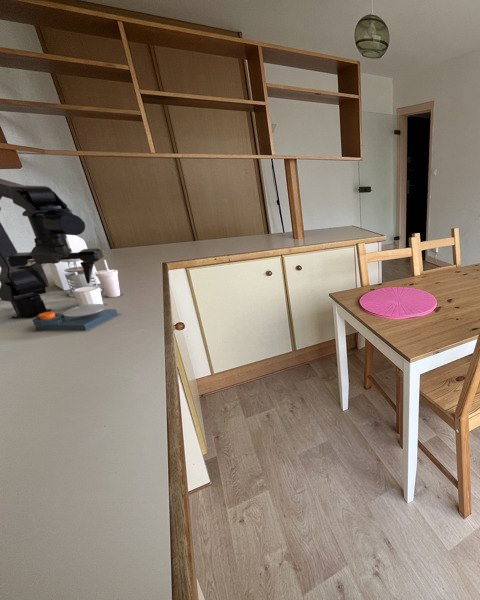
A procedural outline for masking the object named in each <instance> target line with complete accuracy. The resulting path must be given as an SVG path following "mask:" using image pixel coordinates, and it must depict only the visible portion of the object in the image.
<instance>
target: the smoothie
mask: <svg viewBox="0 0 480 600" xmlns="http://www.w3.org/2000/svg"><path fill="white" fill-rule="evenodd" d="M103 264H104V266H105V269H103V270H98V271H97V272H96V273H95V274H96V276H97V277H98V279H99V281H100V285H101V287H102V289H103V290H104V293H105V294H106V296H107V298H116V297H120V296H121V290H120V284H119V277H118V276H119V275H118V274H119V272H118V271H119V270H118V269H109V266H108V263H107V260H106V259H103Z"/></svg>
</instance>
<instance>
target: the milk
mask: <svg viewBox="0 0 480 600" xmlns="http://www.w3.org/2000/svg"><path fill="white" fill-rule="evenodd" d="M64 235H65V234H64ZM66 236H67V240H68V242H69V245H70V248H71V250H72V253H78V252H80V251H82V250H84V249H89V248H88V246H87V244H86V241H85V240H84V238H82V237H80V236H78V235H66ZM67 240H66V241H67ZM68 242H67V243H68ZM69 245H68V246H69ZM81 262H83V261H76V265H77V267H82V265H81V264H80V263H81ZM70 263H71V264H69V266H68V262H61V261H60V262H59V263H55V264H52V263H47V265H48V266H49V269H50V273H51V275H52V279H53V281H54V284H55V286H57V287H58V288H60V289H62V290H63V291H69V290H70V288H69V285H68V282H67V280H66V277H65V274H66V273H68V272H65V271H64V270H65V269H68V268H69V267H70V268H73V267H76V265H75V266H74V264H73V263H74V262H70ZM92 271H93V274H94V276H95V277H94V278H95V279H96V280H95V281H96V282H97V283H96V284H97V285H101V283H100V281H99V279H98V277H97V276H96V274H95V273H96V272H98V271H97V268H96V265H95V264H94V266H93V269H92ZM75 275H78V274H77V272H75ZM91 280H92V279H91ZM68 281H70V280H68ZM92 283H94V282H92ZM69 284H70V283H69ZM70 285H71V284H70ZM70 287H71V286H70ZM71 288H72V287H71Z"/></svg>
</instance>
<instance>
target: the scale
mask: <svg viewBox="0 0 480 600" xmlns="http://www.w3.org/2000/svg"><path fill="white" fill-rule="evenodd" d="M54 313H55V316H56V317H54V318H51V319H46V320H40V318H39V316H36V317H33V318H32V324H33V325H34V328H35V330H36V331H88V330H91V329H92V328H94V327H96V326H98V325H99V324H102V323H104V322H106V321H108V320H110V319H111V318H113V317H116V316H118V311H117V309H116V308H115V309H107V308H106V309H104V310H103V311H100V312H98V313H95V314H91V315H86V316H80V317H65V316H63V312H54Z"/></svg>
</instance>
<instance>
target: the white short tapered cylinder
mask: <svg viewBox="0 0 480 600" xmlns="http://www.w3.org/2000/svg"><path fill="white" fill-rule="evenodd" d="M100 288H101V287H100V286H99V285H98V286H87V287H82V288H77V289H74V290H73V291H72V292H73V294H74V296H75V297H74V298H75V300H76V302H77V304H78V306H83V305H89V304H104V302H103V298H102V293H101V292H100Z"/></svg>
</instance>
